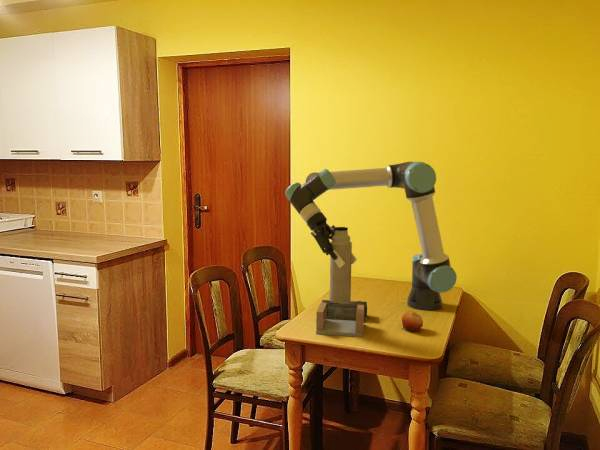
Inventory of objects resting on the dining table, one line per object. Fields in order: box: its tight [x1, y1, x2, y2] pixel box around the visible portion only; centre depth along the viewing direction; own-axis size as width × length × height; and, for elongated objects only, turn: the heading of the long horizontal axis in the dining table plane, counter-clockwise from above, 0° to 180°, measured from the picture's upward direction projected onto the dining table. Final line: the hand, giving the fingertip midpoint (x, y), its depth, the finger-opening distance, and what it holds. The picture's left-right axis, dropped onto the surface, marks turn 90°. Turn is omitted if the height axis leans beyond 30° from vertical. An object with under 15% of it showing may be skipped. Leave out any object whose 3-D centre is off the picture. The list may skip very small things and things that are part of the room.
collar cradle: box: [315, 302, 365, 338], centre depth 197 cm, size 17×14×8 cm
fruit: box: [401, 310, 424, 333], centre depth 197 cm, size 8×8×8 cm
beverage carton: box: [320, 299, 368, 321], centre depth 212 cm, size 8×19×7 cm, turn 81°
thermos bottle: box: [329, 226, 353, 303], centre depth 194 cm, size 8×8×28 cm
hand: (348, 263), depth 192 cm, fingers closed on thermos bottle, 8 cm apart
